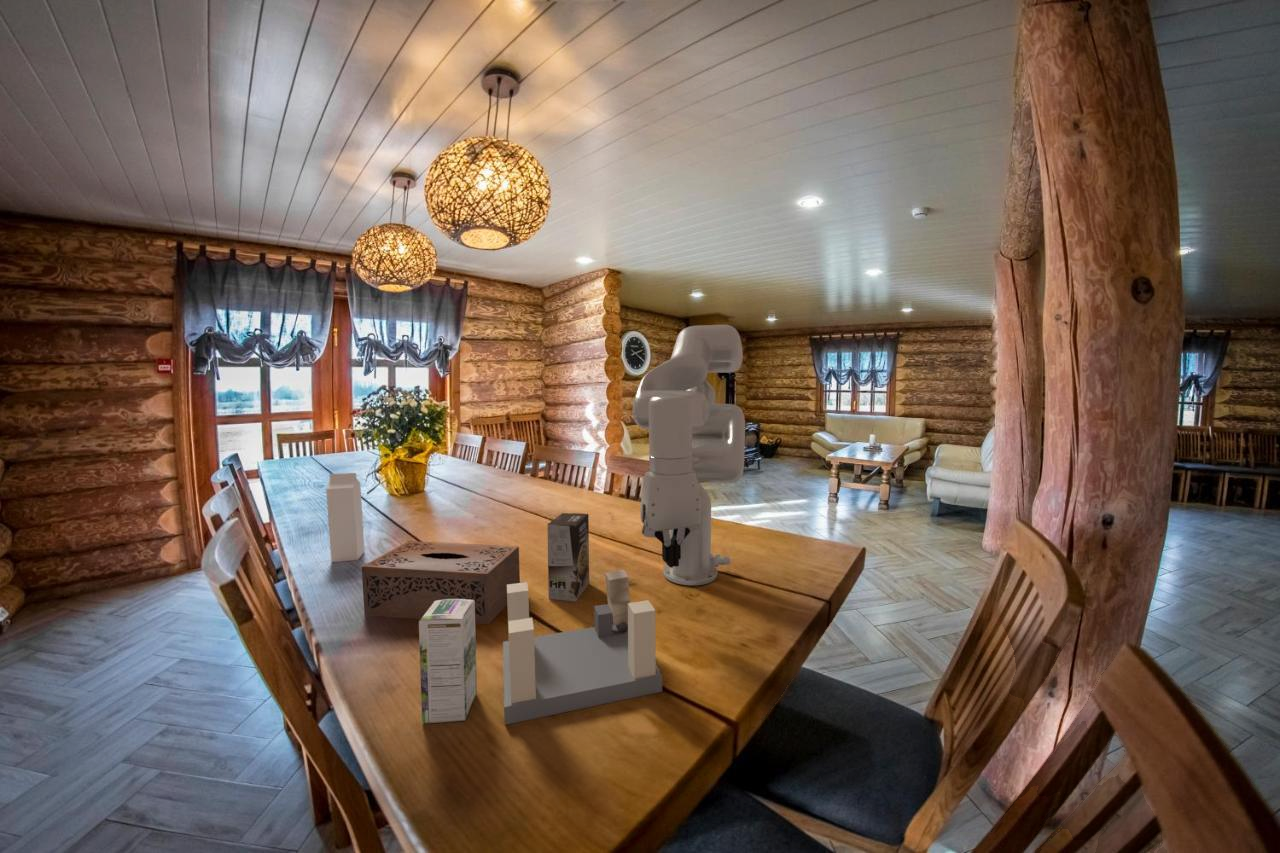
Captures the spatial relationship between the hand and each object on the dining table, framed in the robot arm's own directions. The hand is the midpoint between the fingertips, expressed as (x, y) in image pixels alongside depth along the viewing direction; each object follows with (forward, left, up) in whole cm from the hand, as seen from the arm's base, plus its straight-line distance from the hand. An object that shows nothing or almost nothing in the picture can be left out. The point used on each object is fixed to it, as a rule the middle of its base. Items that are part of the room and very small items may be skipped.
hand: (671, 563), depth 83 cm
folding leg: (+10, +2, -10) cm, 14 cm away
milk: (+68, -57, -12) cm, 89 cm away
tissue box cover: (+41, -23, -13) cm, 48 cm away
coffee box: (+16, -20, -12) cm, 28 cm away
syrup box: (+37, +11, -12) cm, 40 cm away
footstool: (+19, +8, -12) cm, 24 cm away
